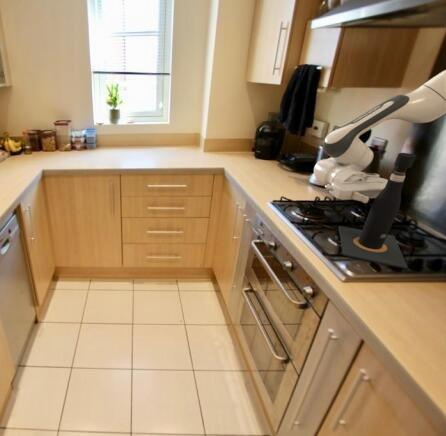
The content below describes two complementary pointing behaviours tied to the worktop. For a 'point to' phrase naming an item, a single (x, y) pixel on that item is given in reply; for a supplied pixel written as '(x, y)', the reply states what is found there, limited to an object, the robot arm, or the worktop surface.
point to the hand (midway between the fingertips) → (383, 200)
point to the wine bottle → (385, 205)
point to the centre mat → (385, 255)
